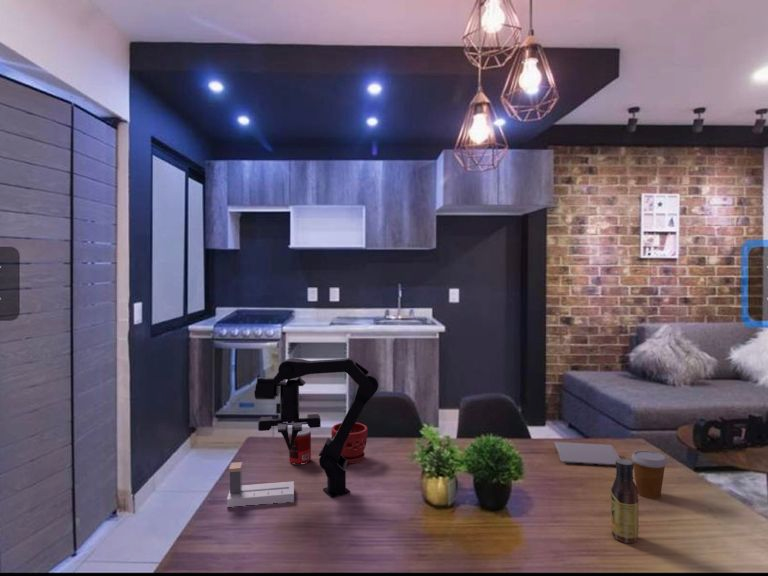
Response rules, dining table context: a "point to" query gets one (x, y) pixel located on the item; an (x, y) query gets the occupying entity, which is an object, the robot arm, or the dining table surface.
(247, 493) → the dimmer panel
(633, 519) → the sauce bottle
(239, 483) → the slider handle
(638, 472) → the disposable coffee cup
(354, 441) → the plant pot
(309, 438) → the canned food
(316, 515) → the dining table surface
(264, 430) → the robot arm
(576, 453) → the book
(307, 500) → the dining table surface
